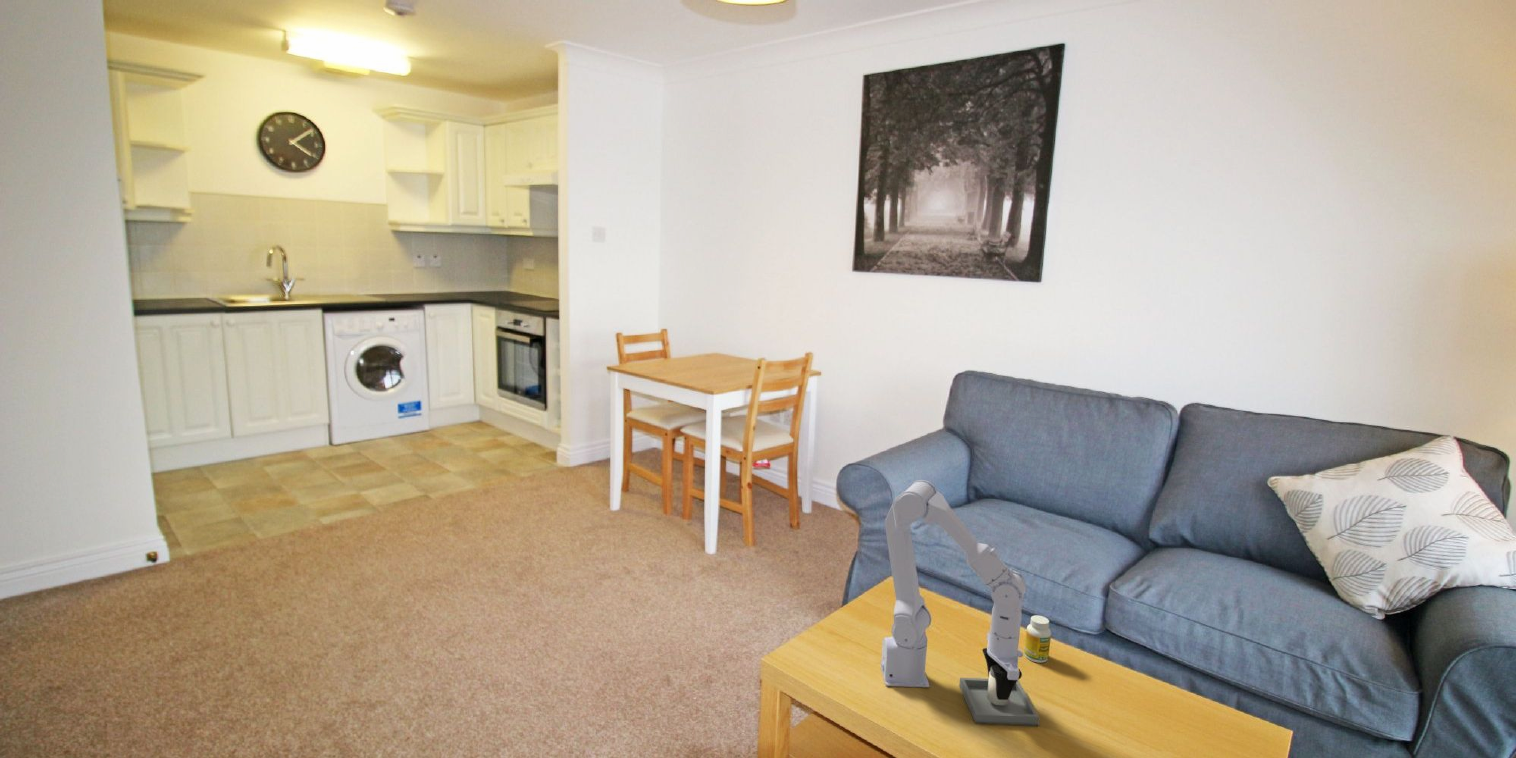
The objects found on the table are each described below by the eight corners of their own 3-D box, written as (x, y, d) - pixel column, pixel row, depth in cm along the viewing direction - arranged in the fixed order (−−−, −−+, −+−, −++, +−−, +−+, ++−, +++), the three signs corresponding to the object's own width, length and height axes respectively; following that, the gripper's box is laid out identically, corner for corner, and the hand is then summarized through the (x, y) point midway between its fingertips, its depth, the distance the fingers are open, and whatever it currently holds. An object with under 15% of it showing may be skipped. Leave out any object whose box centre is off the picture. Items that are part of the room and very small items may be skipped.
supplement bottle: (1033, 648, 173) (1037, 611, 172) (1053, 659, 169) (1057, 621, 167) (1019, 654, 170) (1023, 617, 169) (1038, 666, 166) (1043, 627, 164)
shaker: (990, 705, 149) (993, 676, 148) (984, 691, 153) (987, 663, 152) (1012, 705, 149) (1015, 677, 148) (1005, 692, 153) (1008, 664, 152)
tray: (975, 723, 145) (976, 714, 145) (959, 685, 157) (959, 677, 157) (1038, 725, 145) (1039, 717, 145) (1017, 688, 157) (1018, 679, 157)
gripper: (1037, 651, 141) (1030, 714, 143) (1012, 614, 155) (1006, 671, 158) (1001, 650, 141) (994, 712, 143) (979, 612, 155) (974, 670, 158)
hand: (998, 691), depth 151 cm, fingers closed on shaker, 4 cm apart
